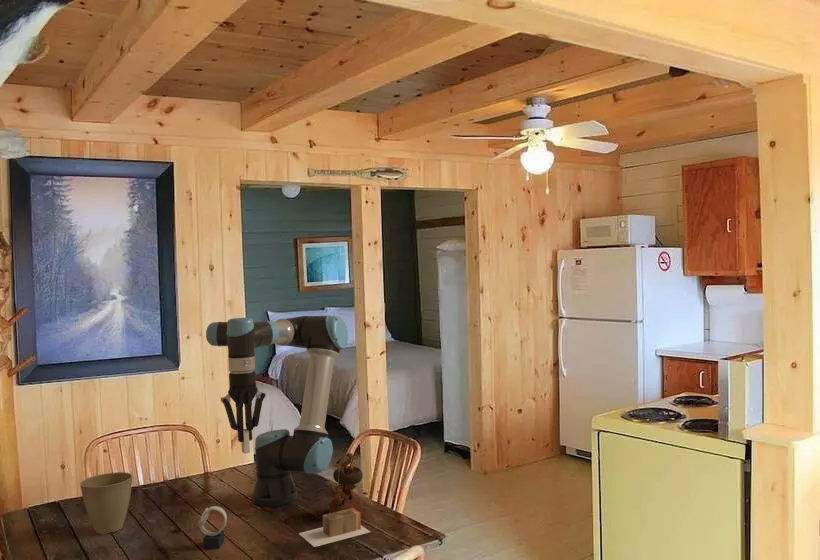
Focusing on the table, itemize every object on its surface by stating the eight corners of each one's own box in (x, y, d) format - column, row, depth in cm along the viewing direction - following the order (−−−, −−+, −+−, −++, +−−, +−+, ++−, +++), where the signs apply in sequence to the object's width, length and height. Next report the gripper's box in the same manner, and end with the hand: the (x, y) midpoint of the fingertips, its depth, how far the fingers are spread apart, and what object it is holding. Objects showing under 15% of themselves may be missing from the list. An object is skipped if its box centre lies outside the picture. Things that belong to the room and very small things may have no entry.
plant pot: (145, 523, 216) (142, 473, 216) (110, 541, 202) (107, 488, 202) (107, 519, 221) (105, 470, 221) (71, 537, 207) (68, 485, 207)
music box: (355, 524, 209) (352, 459, 208) (322, 522, 212) (319, 458, 211) (371, 506, 223) (368, 446, 223) (339, 504, 226) (337, 445, 226)
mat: (298, 534, 203) (298, 533, 203) (352, 520, 212) (352, 519, 212) (314, 547, 192) (314, 546, 192) (370, 532, 202) (370, 531, 202)
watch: (203, 541, 200) (201, 504, 200) (230, 540, 200) (228, 503, 200) (196, 549, 194) (195, 511, 194) (225, 548, 194) (223, 510, 194)
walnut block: (322, 515, 203) (352, 507, 208) (323, 531, 203) (353, 524, 208) (329, 520, 199) (360, 512, 204) (330, 537, 199) (360, 529, 204)
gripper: (223, 375, 191) (227, 459, 191) (268, 370, 198) (271, 451, 198) (215, 372, 197) (219, 453, 197) (259, 367, 204) (262, 445, 204)
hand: (245, 452), depth 198 cm, fingers closed
